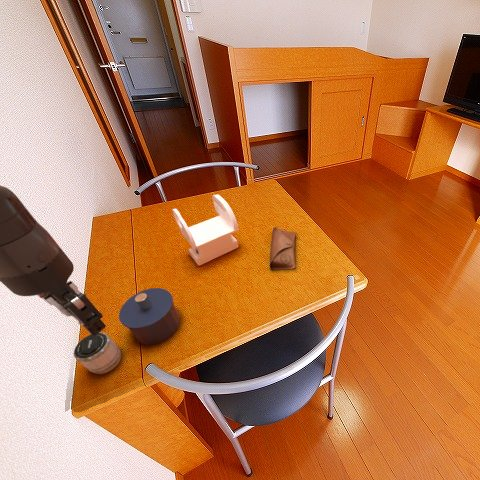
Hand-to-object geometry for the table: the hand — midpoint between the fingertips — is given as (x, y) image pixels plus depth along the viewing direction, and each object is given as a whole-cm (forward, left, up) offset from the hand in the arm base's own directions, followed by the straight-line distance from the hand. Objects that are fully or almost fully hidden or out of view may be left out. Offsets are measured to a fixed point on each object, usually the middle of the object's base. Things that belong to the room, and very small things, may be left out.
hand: (84, 320), depth 50 cm
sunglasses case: (+47, -19, -18) cm, 54 cm away
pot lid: (+11, 0, -11) cm, 15 cm away
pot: (+11, 0, -18) cm, 21 cm away
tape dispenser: (+40, +2, -18) cm, 44 cm away
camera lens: (0, +5, -18) cm, 19 cm away
